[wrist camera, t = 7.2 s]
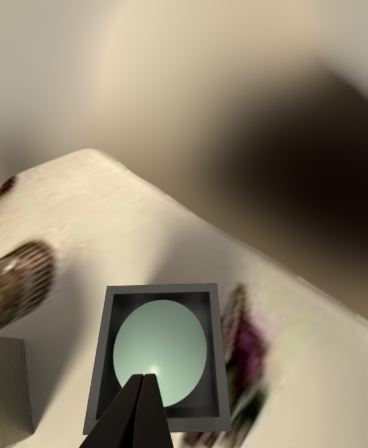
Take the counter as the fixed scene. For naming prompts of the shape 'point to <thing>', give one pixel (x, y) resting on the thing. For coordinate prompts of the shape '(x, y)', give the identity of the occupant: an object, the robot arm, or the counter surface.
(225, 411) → the teal button housing
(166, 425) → the robot arm
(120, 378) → the teal button
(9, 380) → the orange button housing
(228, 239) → the counter surface
